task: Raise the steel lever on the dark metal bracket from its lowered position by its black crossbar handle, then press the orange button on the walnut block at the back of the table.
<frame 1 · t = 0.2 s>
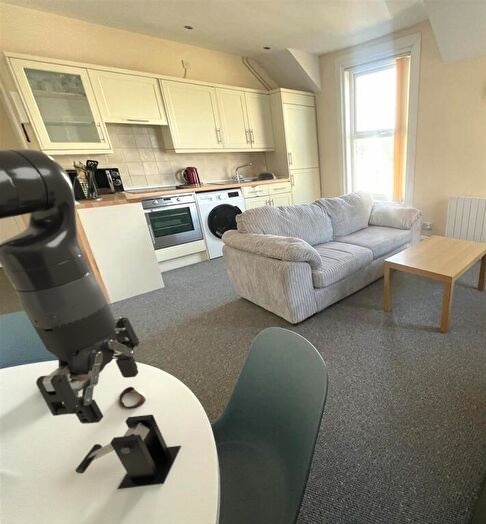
hand: (114, 396, 45), 22 cm above the table, tool pointing down, fingers open, 8 cm apart
bracket: (153, 469, 55), on the table
lever: (113, 445, 52), point 8 cm above the table, hinge at -26.0°
button block: (72, 383, 77), on the table
button: (64, 371, 75), point 4 cm above the table, slide at 0.1 cm
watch: (134, 402, 71), on the table
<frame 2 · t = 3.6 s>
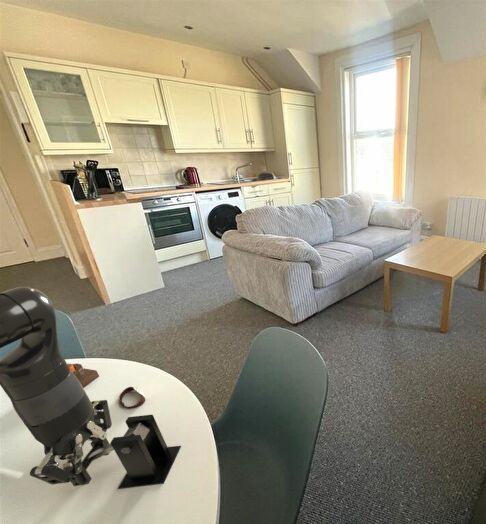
hand: (94, 467, 54), 3 cm above the table, tool pointing down, fingers closed on lever, 4 cm apart
lever: (113, 445, 52), point 8 cm above the table, hinge at -26.0°, touching gripper
everything else where it was.
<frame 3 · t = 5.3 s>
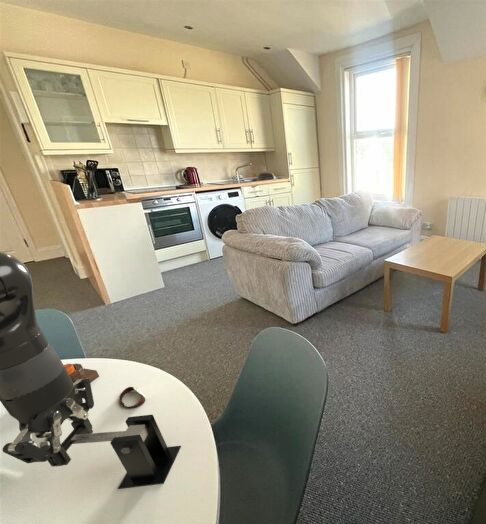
hand: (75, 448, 52), 8 cm above the table, tool pointing down, fingers closed on lever, 4 cm apart
lever: (105, 436, 51), point 10 cm above the table, hinge at 2.9°, touching gripper
everything else where it was.
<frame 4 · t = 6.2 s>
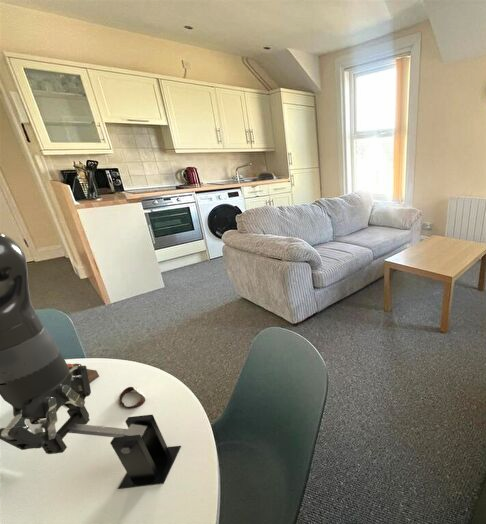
hand: (71, 436, 50), 11 cm above the table, tool pointing down, fingers closed on lever, 4 cm apart
lever: (104, 431, 51), point 12 cm above the table, hinge at 18.8°, touching gripper
everything else where it was.
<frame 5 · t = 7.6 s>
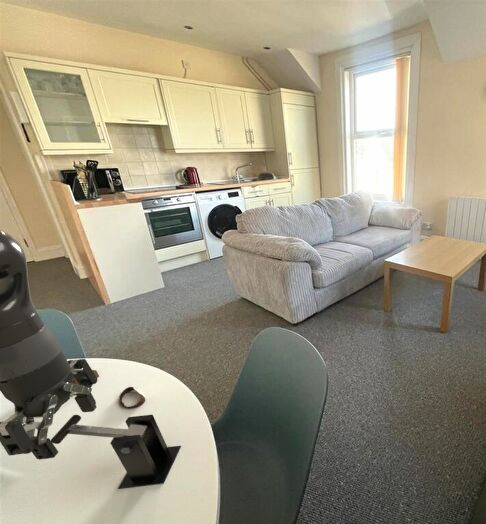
hand: (71, 431, 50), 12 cm above the table, tool pointing down, fingers open, 8 cm apart
lever: (104, 431, 51), point 12 cm above the table, hinge at 17.3°
everything else where it was.
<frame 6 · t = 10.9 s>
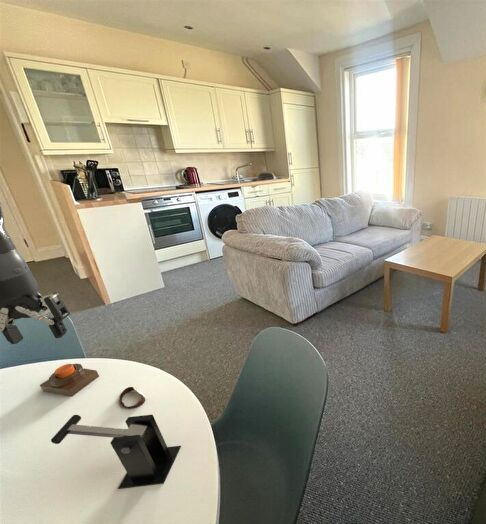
hand: (39, 338, 64), 19 cm above the table, tool pointing down, fingers open, 8 cm apart
nothing on the table moved.
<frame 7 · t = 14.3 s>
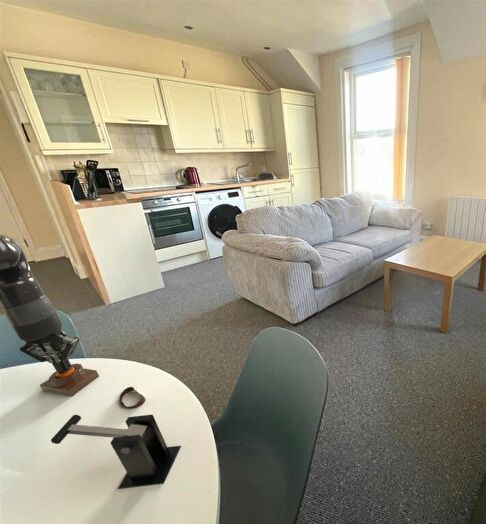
hand: (65, 370, 75), 5 cm above the table, tool pointing down, fingers closed
button: (66, 373, 76), point 4 cm above the table, slide at -0.7 cm, touching gripper
everything else where it was.
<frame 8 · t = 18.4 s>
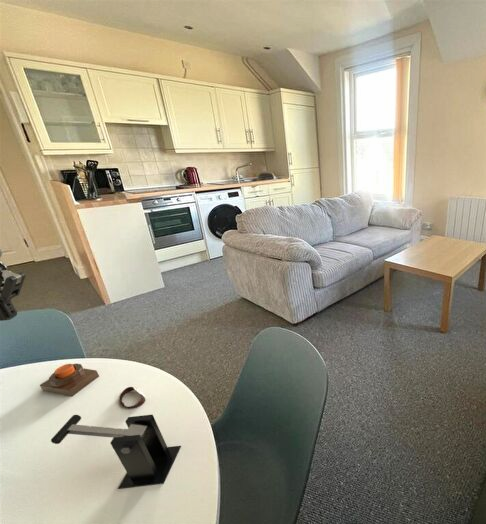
hand: (8, 318, 58), 27 cm above the table, tool pointing down, fingers closed
button: (64, 371, 75), point 4 cm above the table, slide at 0.1 cm
everything else where it was.
at the end: lever at +17° (first picture: -26°); button pushed in 1.2 cm at the most during the clip, back to where it started at the end; button slide at 0.1 cm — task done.
